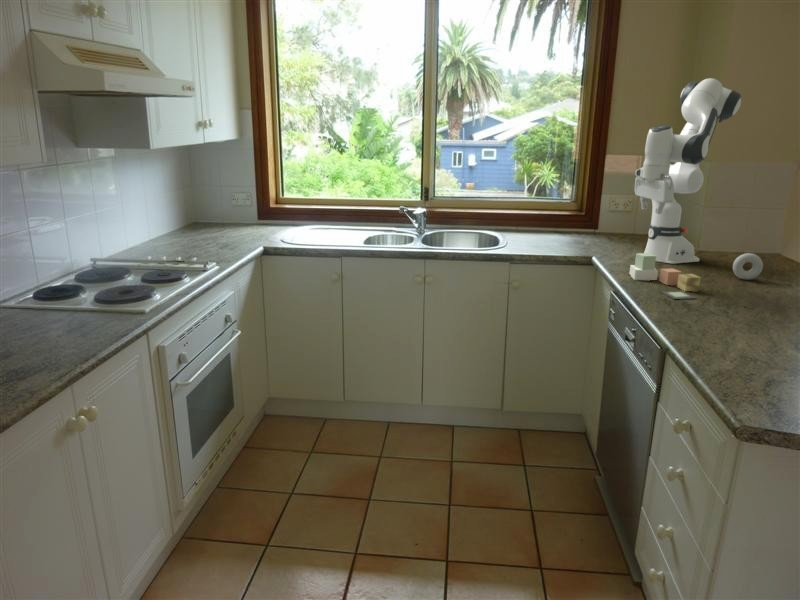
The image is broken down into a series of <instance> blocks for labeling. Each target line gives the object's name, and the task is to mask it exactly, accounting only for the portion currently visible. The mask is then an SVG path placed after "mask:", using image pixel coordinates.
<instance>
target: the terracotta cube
mask: <svg viewBox="0 0 800 600" xmlns="http://www.w3.org/2000/svg"><path fill="white" fill-rule="evenodd" d="M679 274H682V271H681V270H678V269H676V268H660V271H659V275H658V277H659V278H658V282H659V281H660V282H662V283H664V284H666V285H671V286H677V282H678V276H679ZM660 282H659V283H660ZM662 283H661V284H662ZM664 284H663V285H664ZM666 285H665V286H666Z"/></svg>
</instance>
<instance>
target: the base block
mask: <svg viewBox="0 0 800 600" xmlns="http://www.w3.org/2000/svg"><path fill="white" fill-rule="evenodd" d="M629 266H630V268H629V274H630V275H631V276H630V277H631V278H632V279H633V281H650V280H657V281H658V277H659V270H658V269H656V267H655V268H654V269H647V270H642V269H639V268H637V267H635V264H630V265H629ZM629 274H628V275H629Z"/></svg>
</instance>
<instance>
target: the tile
mask: <svg viewBox="0 0 800 600" xmlns="http://www.w3.org/2000/svg"><path fill="white" fill-rule="evenodd" d="M661 292H662V293H664V294H666V295H668V296H670V297H672V298H674V299H680V300H697V297H696V296H694V295H691V294H689V293H688V292H685V291H683V290H676V291H675V290H674V291H673V290H670V291H661ZM662 293H661V294H662ZM664 294H663V295H664ZM666 295H665V296H666ZM668 296H667V297H668ZM670 297H669V298H670ZM672 298H671V299H672ZM674 299H673V300H674Z"/></svg>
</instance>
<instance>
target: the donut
mask: <svg viewBox="0 0 800 600" xmlns="http://www.w3.org/2000/svg"><path fill="white" fill-rule="evenodd" d="M747 263H750V264H751V268H750V269H748V270H745V269H744V265H745V264H747ZM763 268H764V262H763V260H762V258H761V257H760V256H759V255H757V254H755V253H752V252H751V253H750V252H747V253H743V254H740V255H739V256H738V257H736V258H735V260H734V261H733V263H732V271H733V273H734V275H735V276H736V277H737V278H739V279H741V280H745V281H747V280H753V279H755V278H757V277H758V276H759V275H760V274H761V273H762V271H763Z"/></svg>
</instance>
